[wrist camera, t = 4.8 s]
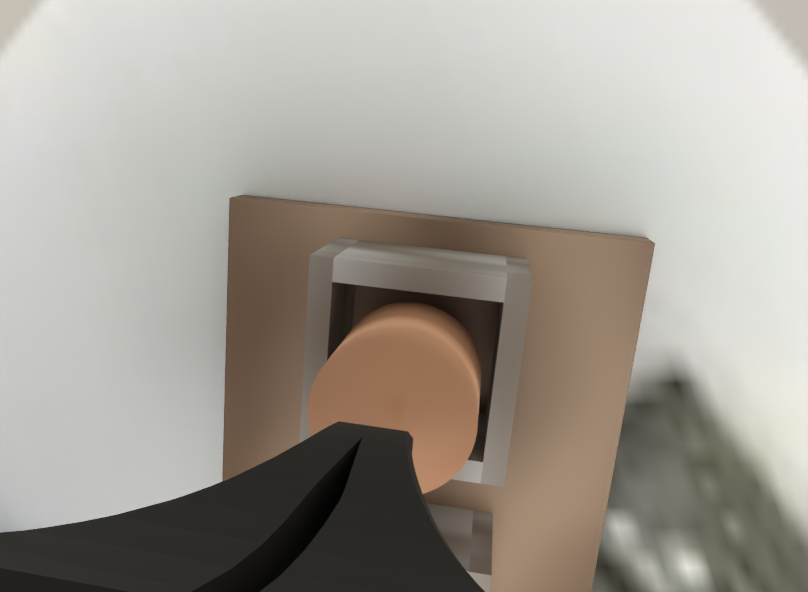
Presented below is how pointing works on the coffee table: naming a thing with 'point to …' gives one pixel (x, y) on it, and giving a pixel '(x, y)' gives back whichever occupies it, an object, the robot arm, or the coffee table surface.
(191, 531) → the robot arm
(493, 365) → the panel
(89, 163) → the coffee table surface
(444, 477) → the plug terracotta
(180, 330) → the coffee table surface
